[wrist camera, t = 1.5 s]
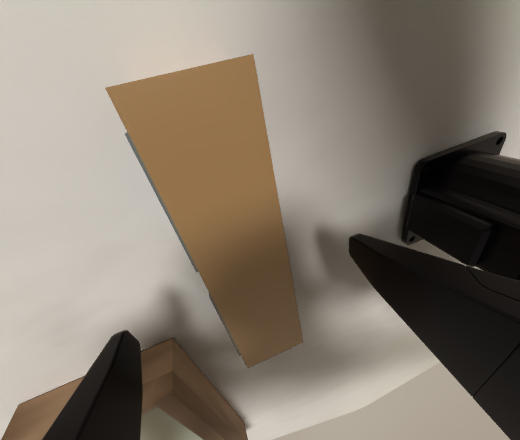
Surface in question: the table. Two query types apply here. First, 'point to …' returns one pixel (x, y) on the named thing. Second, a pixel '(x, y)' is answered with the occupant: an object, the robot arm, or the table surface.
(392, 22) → the table surface
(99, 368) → the robot arm
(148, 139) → the tan rectangular block
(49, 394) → the brown picture frame
